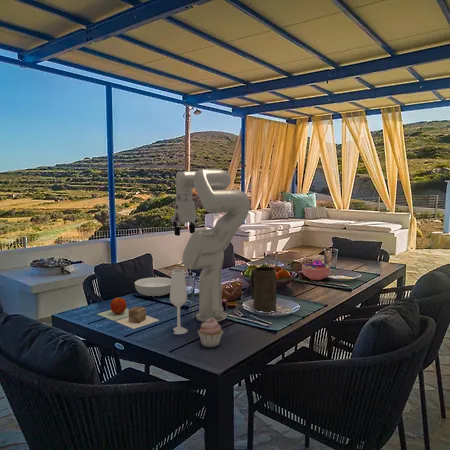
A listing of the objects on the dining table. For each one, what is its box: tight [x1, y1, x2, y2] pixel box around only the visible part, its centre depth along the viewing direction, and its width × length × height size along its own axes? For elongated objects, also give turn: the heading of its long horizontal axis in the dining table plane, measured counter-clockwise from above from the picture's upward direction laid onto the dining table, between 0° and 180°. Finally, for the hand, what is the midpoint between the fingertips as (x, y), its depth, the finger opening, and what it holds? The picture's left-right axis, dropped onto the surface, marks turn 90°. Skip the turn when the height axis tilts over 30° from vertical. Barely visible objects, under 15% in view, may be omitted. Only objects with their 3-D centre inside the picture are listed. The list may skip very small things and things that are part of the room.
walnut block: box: [128, 306, 147, 323], centre depth 163 cm, size 5×5×5 cm
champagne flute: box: [169, 269, 188, 335], centre depth 152 cm, size 7×7×24 cm
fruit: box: [109, 295, 127, 314], centre depth 172 cm, size 7×7×8 cm
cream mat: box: [115, 314, 160, 330], centre depth 163 cm, size 13×13×1 cm
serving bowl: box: [134, 276, 171, 298], centre depth 204 cm, size 21×21×7 cm
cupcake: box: [197, 318, 224, 348], centre depth 140 cm, size 9×9×10 cm
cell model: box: [301, 259, 331, 281], centre depth 235 cm, size 17×20×11 cm
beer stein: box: [249, 266, 277, 312], centre depth 179 cm, size 15×10×20 cm
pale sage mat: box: [96, 307, 131, 321], centre depth 172 cm, size 13×13×1 cm
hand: (184, 234), depth 187 cm, fingers open, 9 cm apart
